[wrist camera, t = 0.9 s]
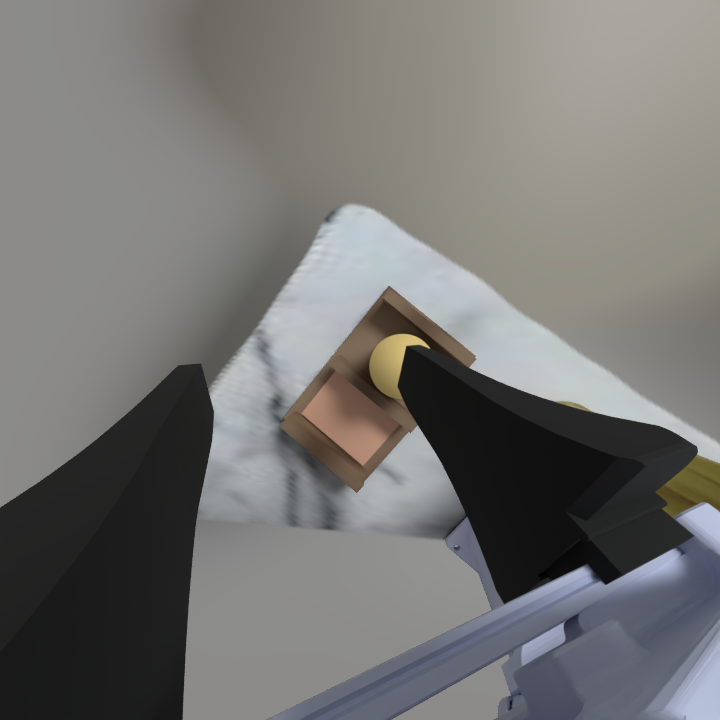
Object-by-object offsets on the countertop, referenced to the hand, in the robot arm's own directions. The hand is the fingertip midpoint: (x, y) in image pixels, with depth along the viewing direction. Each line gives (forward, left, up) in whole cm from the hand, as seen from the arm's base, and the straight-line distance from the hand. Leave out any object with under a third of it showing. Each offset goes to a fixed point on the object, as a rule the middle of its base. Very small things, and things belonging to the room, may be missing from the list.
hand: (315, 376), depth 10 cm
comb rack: (-3, +1, -14) cm, 14 cm away
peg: (-3, -2, -13) cm, 13 cm away
